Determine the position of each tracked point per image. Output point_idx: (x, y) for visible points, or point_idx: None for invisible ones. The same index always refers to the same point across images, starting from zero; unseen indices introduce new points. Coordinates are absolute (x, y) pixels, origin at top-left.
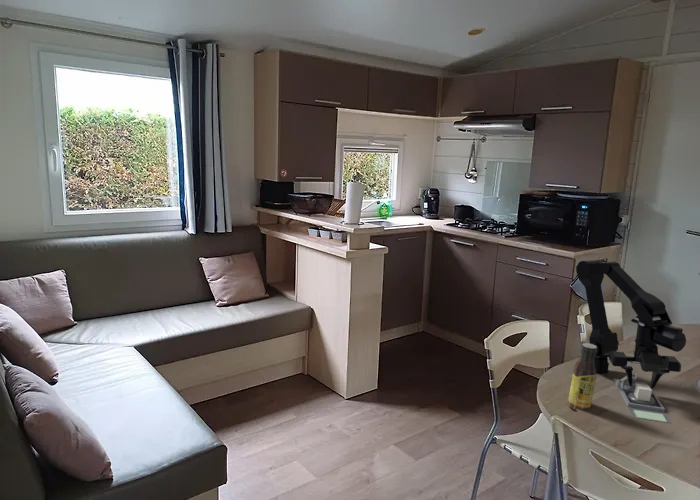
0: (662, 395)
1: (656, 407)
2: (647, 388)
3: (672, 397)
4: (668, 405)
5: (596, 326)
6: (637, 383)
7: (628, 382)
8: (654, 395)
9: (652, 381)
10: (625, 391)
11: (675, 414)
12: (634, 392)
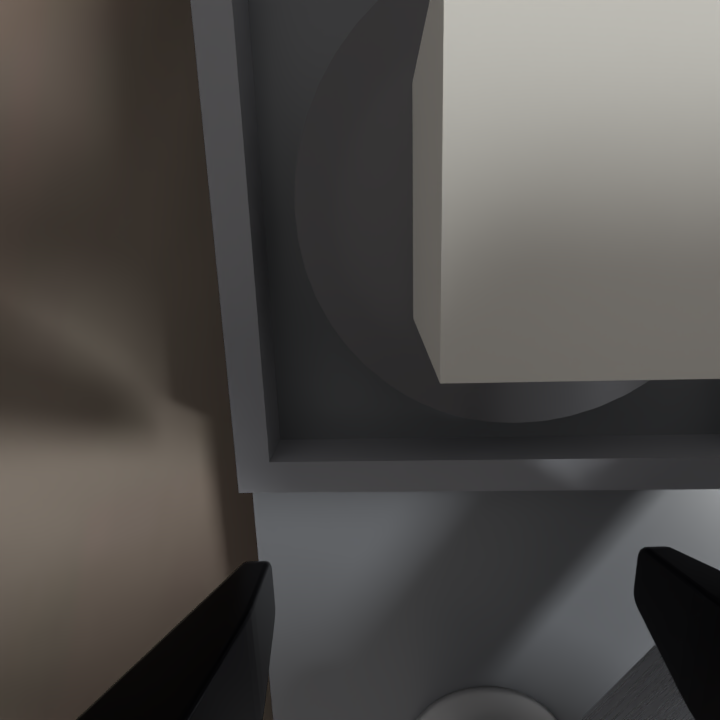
0: (132, 598)
1: None
2: (566, 62)
3: (23, 584)
4: (99, 344)
5: None
6: None
7: (613, 694)
8: (259, 408)
9: (239, 709)
10: (695, 445)
11: (40, 76)
12: (601, 385)
